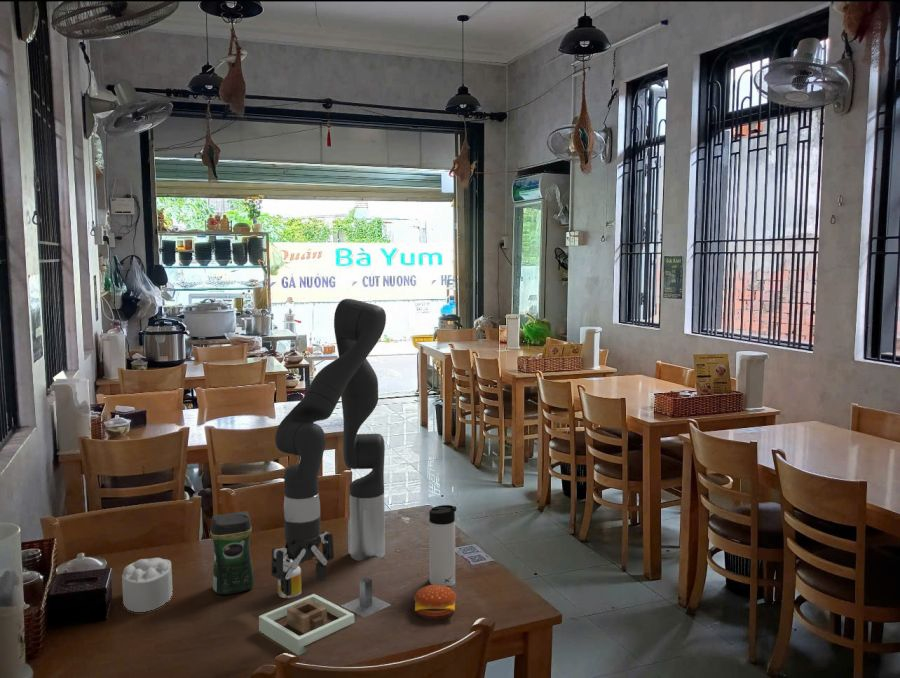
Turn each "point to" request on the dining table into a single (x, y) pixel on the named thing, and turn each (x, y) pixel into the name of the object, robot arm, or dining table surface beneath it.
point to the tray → (298, 642)
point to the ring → (307, 616)
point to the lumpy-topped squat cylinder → (147, 584)
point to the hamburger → (435, 602)
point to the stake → (365, 600)
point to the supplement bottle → (292, 583)
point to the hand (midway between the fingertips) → (304, 587)
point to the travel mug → (442, 545)
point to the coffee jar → (232, 553)
